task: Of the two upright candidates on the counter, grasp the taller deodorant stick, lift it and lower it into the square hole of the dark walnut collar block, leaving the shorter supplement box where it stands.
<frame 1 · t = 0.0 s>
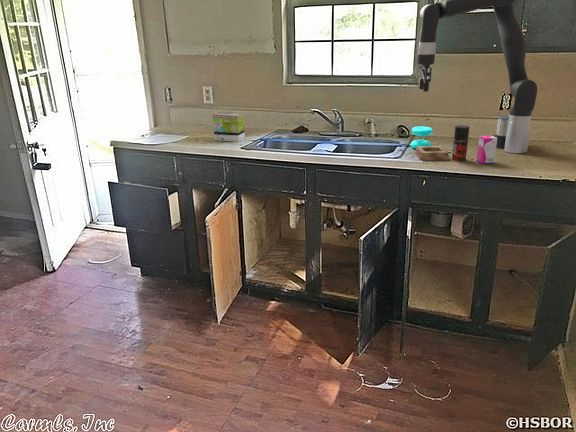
hand: (423, 90, 217), 29 cm above the table, fingers open, 8 cm apart
tea box: (230, 140, 268), on the table
collar block: (431, 156, 221), on the table
deodorant: (458, 160, 215), on the table
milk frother: (498, 145, 238), on the table
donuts: (420, 148, 238), on the table
supplement box: (484, 162, 209), on the table
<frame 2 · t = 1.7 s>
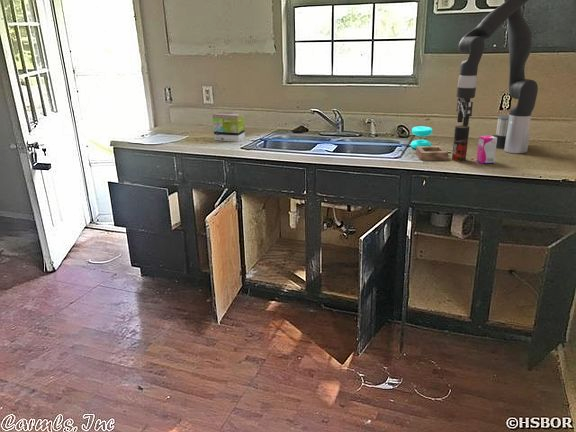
hand: (462, 124, 209), 16 cm above the table, fingers open, 8 cm apart
nothing on the table moved.
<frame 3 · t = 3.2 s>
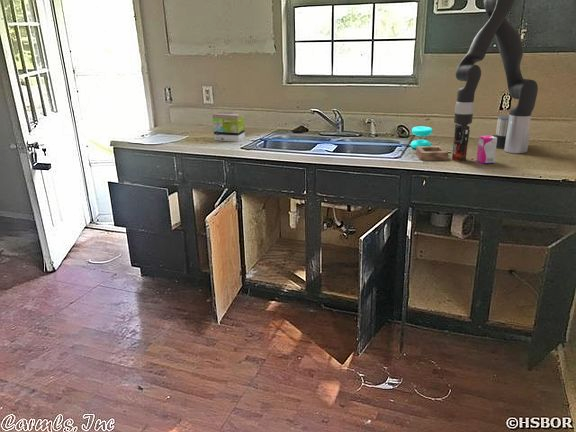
hand: (459, 149, 213), 5 cm above the table, fingers closed on deodorant, 6 cm apart
deodorant: (458, 160, 215), on the table, touching gripper
everything else where it was.
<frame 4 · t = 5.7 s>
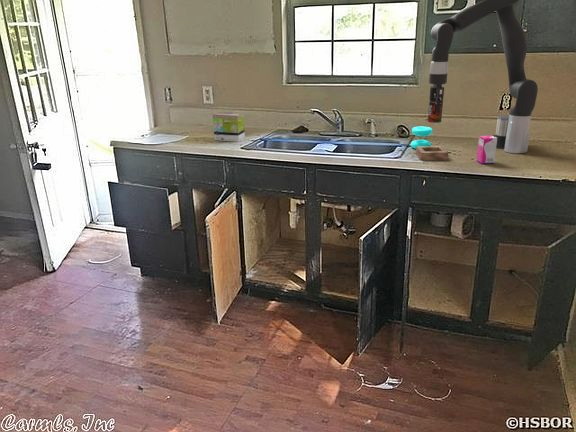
hand: (435, 111, 213), 21 cm above the table, fingers closed on deodorant, 6 cm apart
deodorant: (434, 121, 215), point 16 cm above the table, touching gripper
everything else where it was.
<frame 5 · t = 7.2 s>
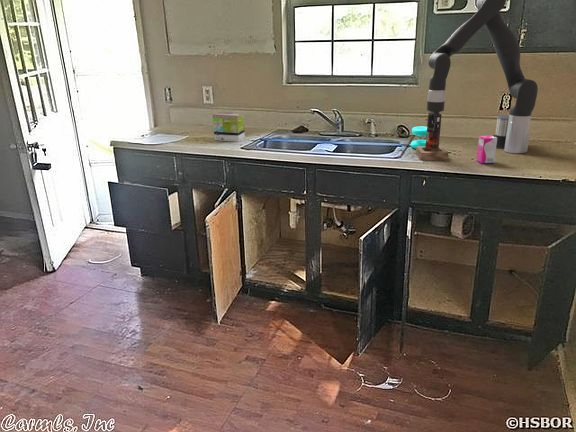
hand: (432, 137, 217), 9 cm above the table, fingers closed on deodorant, 6 cm apart
deodorant: (432, 147, 219), point 4 cm above the table, touching gripper
everything else where it was.
when the fingers open (5 cm above the table, at t = 8.4 s): deodorant stays where it is, resting in collar block.
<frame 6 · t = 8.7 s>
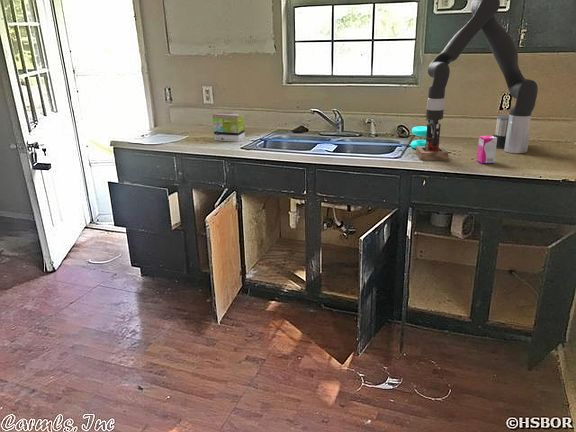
hand: (432, 144, 218), 6 cm above the table, fingers open, 8 cm apart
deodorant: (431, 157, 221), resting in collar block
everything else where it was.
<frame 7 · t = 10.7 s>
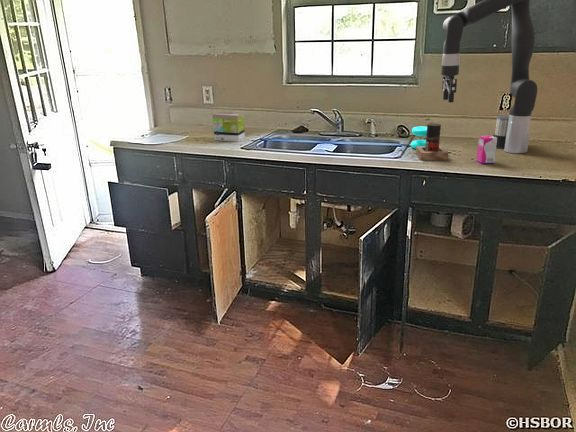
hand: (448, 101, 218), 24 cm above the table, fingers open, 8 cm apart
nothing on the table moved.
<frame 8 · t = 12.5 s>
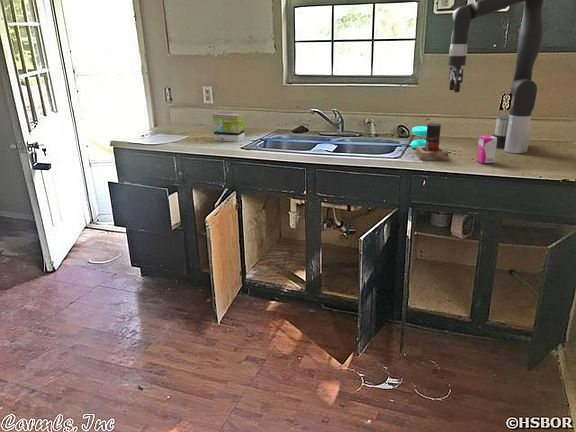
hand: (454, 91, 221), 28 cm above the table, fingers open, 8 cm apart
nothing on the table moved.
at the end: deodorant 0.1 cm off-centre on the collar block, point 0.0 cm above the collar block's base; deodorant tilted 0°; deodorant touching table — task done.
